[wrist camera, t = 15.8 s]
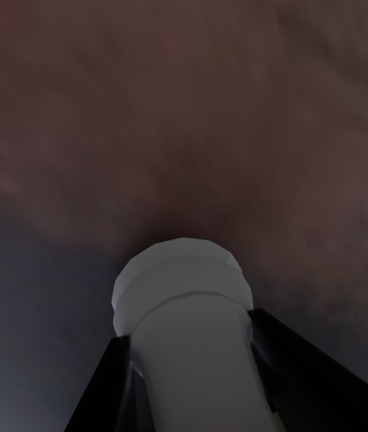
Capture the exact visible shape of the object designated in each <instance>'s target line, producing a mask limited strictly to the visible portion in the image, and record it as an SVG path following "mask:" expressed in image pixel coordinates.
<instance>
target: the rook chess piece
mask: <svg viewBox="0 0 368 432" xmlns="http://www.w3.org/2000/svg"><path fill="white" fill-rule="evenodd" d="M111 303H112V306H113V309H114V311H115V313H114V319H113V325H114V328H115V331H116V334H117V336H123V335H126V336H127V337H128V342H129V346H130V348H129V356H130V359H131V362H132V364H133V367H134V370H135V371H137V372H138V373H139V374H140V375H141V376H143V379H144V381H145V386H146V390H147V395H148V399H149V404H150V409H151V413H152V418H153V422H154V427H155V431H156V432H281V431H280V429H279V427H278V425H277V422H276V420H275V418H274V416H273V413H272V411H271V409H270V407H269V404H268V402H267V399H266V396H265V393H264V390H263V386H262V383H261V380H260V376H259V373H258V370H257V367H256V363H255V360H254V357H253V353H252V350H251V346H250V343H251V340H252V320H251V318H250V317H249V315H248V311H249V310H252V309H253V300H252V293H251V288H250V286H249V285H248V283H247V282H246V280H245V279H244V277H243V273H242V269H241V267H240V266H239V264H238V263H237V261H236V260H235V258H234V257H233V255H232V254H231V252H229V251H227V250H226V249H224V248H222V247H220V246H219V245H217V244H215V243H213V242H212V241H209V240H201V239H193V238H185V237H182V238H178V239H174V240H169V241H165V242H161V243H156V244H154V245H152V246H151V247H149V248H147V249H146V250H144V251H143V252H141V253H140V254H138V255H136V256H135V257H133V258H132V259H130V261H129V262H128V263H127V265H126V266H125V268H124V269H123V270H122V272H121V273H120V275H119V276H118V277H117V279H116V280H115V285H114V291H113V296H112V302H111Z"/></svg>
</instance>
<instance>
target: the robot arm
mask: <svg viewBox="0 0 368 432" xmlns="http://www.w3.org/2000/svg"><path fill="white" fill-rule="evenodd" d="M248 315H249V317H250V318H251V320H252V340H251V343H250V345H251V348H252V351H253V354H254V357H255V359H256V362H257V365H258V368H259V371H260V373H261V376H262V379H263V382H264V385H265V387H266V390H267V392H268V394H269V397H270V399H271V401H272V403H273V405H274V407H275V409H276V412H277V414H278V416H279V418H280V420H281V422H282V424H283V426H284V428H285V430H286V432H368V383H366V382H365V381H363V380H362V379H361V378H359V377H358V376H356V375H355V374H354V373H352V372H351V371H349V370H348V369H347V368H345V367H344V366H342V365H341V364H340V363H338V362H337V361H335V360H334V359H332V358H331V357H330V356H328V355H327V354H325V353H324V352H323V351H321V350H320V349H318V348H317V347H316V346H314V345H313V344H311V343H310V342H309V341H307V340H306V339H304V338H303V337H302V336H300V335H299V334H297V333H296V332H294V331H293V330H292V329H290V328H289V327H287V326H286V325H285V324H283V323H282V322H280V321H279V320H278V319H276V318H275V317H273V316H272V315H271V314H269V313H268V312H266V311H265V310H264V309H262V308H257V309H252V310H249V311H248ZM129 348H130V346H129V342H128V337H127V336H126V335H123V336H118V337H114V338H112V339H111V341H110V343H109V345H108V347H107V349H106V351H105V353H104V354H103V356H102V358H101V360H100V362H99V364H98V366H97V368H96V370H95V372H94V374H93V376H92V378H91V380H90V382H89V384H88V386H87V387H86V389H85V391H84V393H83V395H82V397H81V399H80V401H79V403H78V405H77V407H76V409H75V411H74V413H73V415H72V417H71V419H70V420H69V422H68V424H67V426H66V428H65V430H64V432H137V409H136V396H135V382H134V369H133V364H132V362H131V359H130V356H129Z"/></svg>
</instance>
